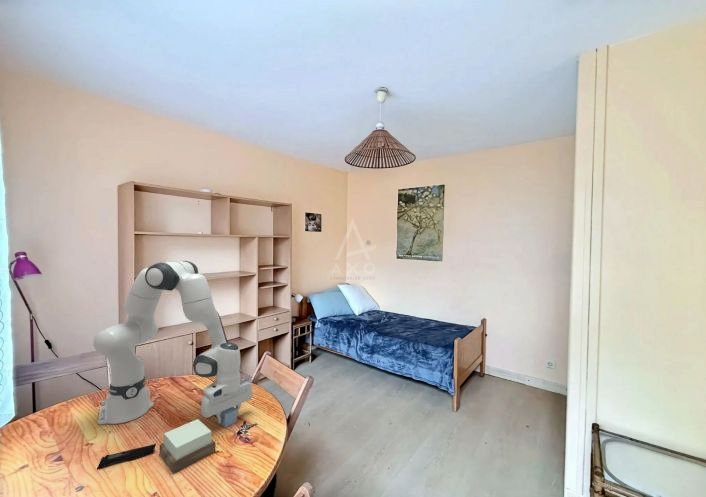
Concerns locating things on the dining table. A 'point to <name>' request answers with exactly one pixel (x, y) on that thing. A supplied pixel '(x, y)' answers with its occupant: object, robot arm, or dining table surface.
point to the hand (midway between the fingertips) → (228, 418)
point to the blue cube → (229, 416)
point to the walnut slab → (185, 457)
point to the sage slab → (187, 439)
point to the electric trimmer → (126, 455)
